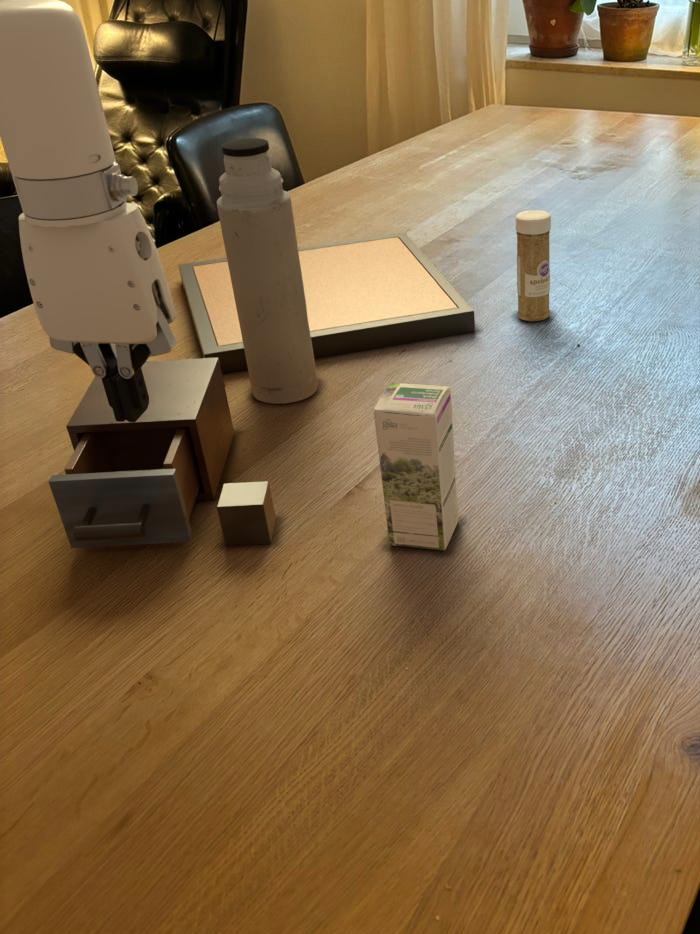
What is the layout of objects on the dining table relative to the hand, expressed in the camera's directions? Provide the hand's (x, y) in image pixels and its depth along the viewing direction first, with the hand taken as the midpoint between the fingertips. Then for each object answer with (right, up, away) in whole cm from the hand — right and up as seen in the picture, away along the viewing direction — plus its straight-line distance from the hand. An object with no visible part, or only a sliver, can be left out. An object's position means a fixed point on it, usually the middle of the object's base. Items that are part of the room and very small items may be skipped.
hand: (132, 414), depth 89 cm
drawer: (-3, -8, +12) cm, 15 cm away
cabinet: (-4, -1, +22) cm, 23 cm away
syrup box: (+25, -10, +10) cm, 28 cm away
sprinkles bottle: (+37, +25, +52) cm, 68 cm away
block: (+8, -9, +11) cm, 17 cm away
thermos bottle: (+6, +11, +36) cm, 39 cm away
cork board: (+7, +28, +57) cm, 64 cm away
